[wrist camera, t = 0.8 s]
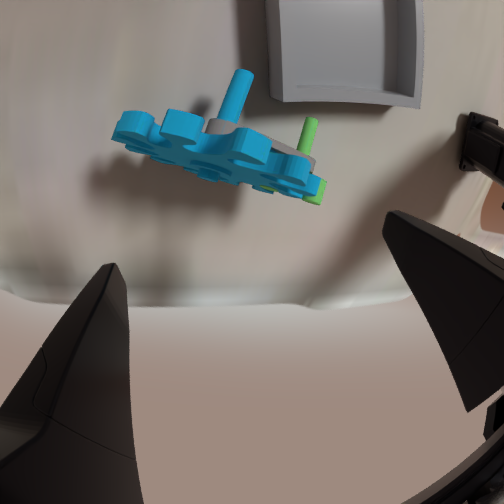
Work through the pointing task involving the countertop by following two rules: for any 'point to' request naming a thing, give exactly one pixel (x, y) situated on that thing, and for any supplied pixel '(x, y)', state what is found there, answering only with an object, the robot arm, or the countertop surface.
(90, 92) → the countertop surface
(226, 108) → the gear
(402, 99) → the tray
